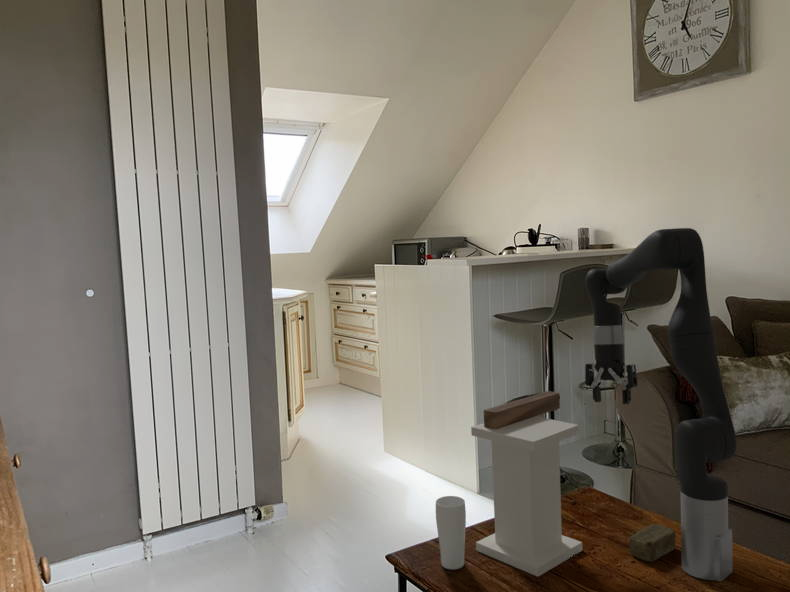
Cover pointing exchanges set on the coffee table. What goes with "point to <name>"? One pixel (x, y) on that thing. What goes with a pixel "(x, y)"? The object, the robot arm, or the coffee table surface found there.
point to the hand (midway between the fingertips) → (611, 402)
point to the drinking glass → (451, 530)
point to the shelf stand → (528, 495)
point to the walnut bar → (521, 409)
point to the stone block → (652, 542)
